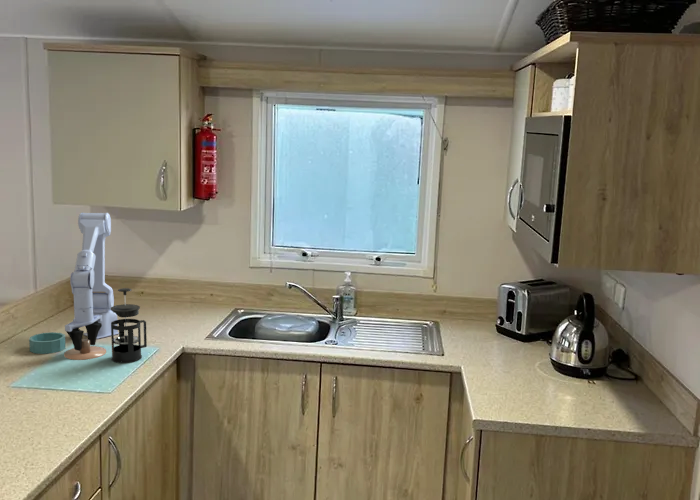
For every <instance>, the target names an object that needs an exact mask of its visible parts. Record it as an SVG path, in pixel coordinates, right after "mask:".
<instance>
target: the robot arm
mask: <svg viewBox="0 0 700 500" xmlns="http://www.w3.org/2000/svg"><path fill="white" fill-rule="evenodd" d="M77 224H78V225H77V226H78V229H79V231H80V233H81V234H82V244H81V245H82V246H81V250H80V251H79V252H78V253H77V256H76V262H75V266H74V271H73V272H71V274H70V281H69V282H70V287H71V293H72V295H73V311H74V314H73V315H74V318H73V319H72V321H70V322H69V323H67V324H65V325H64V330H65V331H64V332H66V333H67V335H68V337H69V338H70V339H71V340H70V341H71V343H72V345H73V348H75V350H78V351H80V350H81V348H82V339H83V335H84V336H86V337H87V339H89V340H90V346H96V343H97V340H98V339H103V338H107V337H111V322H113V321H115V320H118V315H117V314H116V313H113V312H112V311H111V307H113V306H115V305H114V303H115V297H114V290H113V288H112V286H110V285H109V284H107V283H106V280H105V279H106V275H105V273H106V260H105V257H106V248H105V247H106V238H107V237H109V236H111V233H112V218H111V215H110V213H109V212H80V213H79V214H78V219H77ZM115 326H119V324H116V325H115ZM83 327H85V329H86V332H85V330H81V329H80V328H83ZM113 332H114V336H115V335H119V330H114V329H113Z"/></svg>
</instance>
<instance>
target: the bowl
mask: <svg viewBox="0 0 700 500" xmlns="http://www.w3.org/2000/svg"><path fill="white" fill-rule="evenodd" d="M28 342H29V352H30V353H33V354H37V355H38V354H39V355H41V354H42V355H45V354H54V353H59V352H61V351H64V350H65V349H66V334H65V333H62V332H55V331H53V332H49V331H48V332H42V333H36V334H33V335H32V336H29V339H28Z"/></svg>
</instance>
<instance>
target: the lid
mask: <svg viewBox="0 0 700 500" xmlns="http://www.w3.org/2000/svg"><path fill="white" fill-rule="evenodd" d="M106 353H107V349H106V348H105V347H101V346H96V345H90V340H89V339H88V338H82V348H81V350H80V351H78V350H75V348H74V347H73V348H70V349H67V350H66V351H64V353H63V356H64V358H66V359H69V360H73V361H74V360H76V361H81V360H82V361H83V360H84V361H85V360H92V359H97V358H99V357H102V356H104V355H105V354H106Z"/></svg>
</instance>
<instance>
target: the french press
mask: <svg viewBox="0 0 700 500" xmlns="http://www.w3.org/2000/svg"><path fill="white" fill-rule="evenodd" d="M131 291H132V288H129V287H122V288H119V289H118V290H117V292H120V293H121V292H122V293H123V298H124V304H123V303H122V304H116V305H114V306H113V307H111V311H112V312H113V313H116V314H117V317H120V319H117V320H115V321H113V322H111V336H110V337H111V339H110V340H111V357H110V358H111V361H112V362H114V363H118V364H127V363H129V364H130V363H134V362H139V360H142V357H143V355H142V349H144V348H147V341H148V340H147V321H146V320H144V319H143V320H142V319H141V320H139V319H137V318H131V317H136V316H138V315H139V311H140V309H141V306H140V305H137V304H132V303H131V304H129V303H128V304H127V301H126V298H127V297H126V296H127V293H128V292H131ZM129 323H130V324H131V325H127V324H129ZM141 323H143V345H142V344H141V341H142V340H141V338H142V337H141ZM116 324H117V325H118V326H115V325H116ZM113 329H114V330H118V332H119V334H118V336H115V335H114V332H113ZM136 329H137V335H134V330H136ZM136 343H138V344H136ZM115 345H116V346H115Z"/></svg>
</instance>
